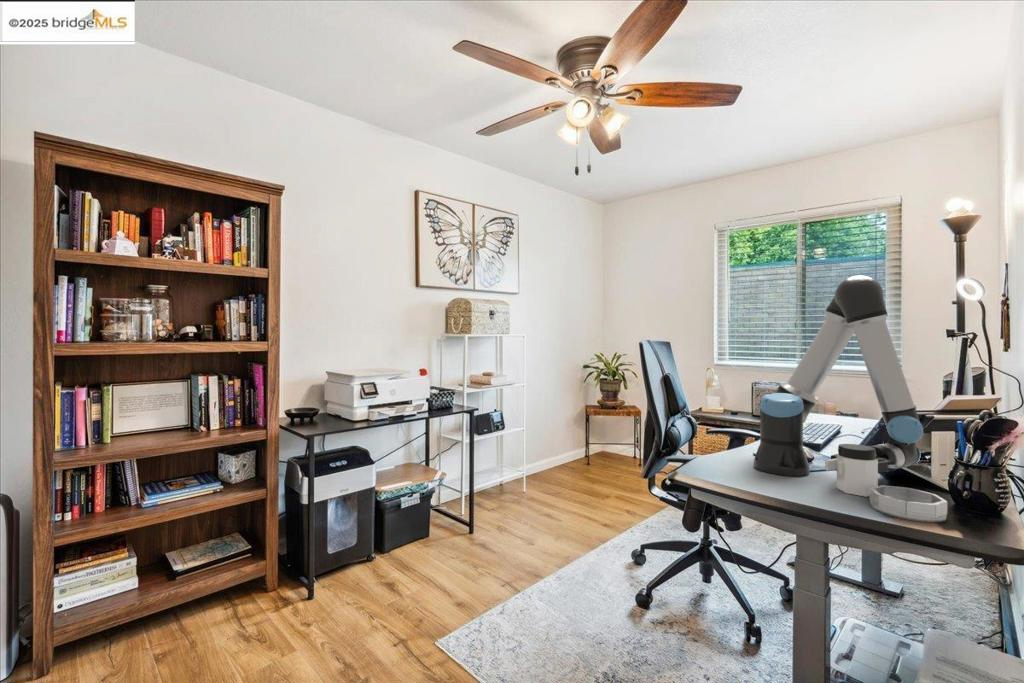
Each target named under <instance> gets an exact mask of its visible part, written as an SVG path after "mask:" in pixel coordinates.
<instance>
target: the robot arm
mask: <svg viewBox="0 0 1024 683" xmlns="http://www.w3.org/2000/svg"><path fill="white" fill-rule="evenodd" d="M824 314H825V316H826V319H825V321H824V323H823V324H822V325H821V328H820V329H819V330H818V332H817V333H816V335H815V337H814V339H813V340H812V342H811V344H810V345H809V347H808V348H807V350H806V351H805V353H804V355H803V356H802V358H801V360H800V361H799V363H798V364H797V366H796V368H795V369H794V371H793V373H792V374H791V376H790V378H789V379H788V381H787V382H783V383H780V384H779V386H778V388H777V389H776V391H775V392H773V393H766V394H764V395H762V396H761V398H760V403H759V408H760V409H759V410H760V415H759V416H760V418H759V420H760V421H759V422H760V426H759V427H760V429H759V430H760V432H759V433H760V434H759V438H760V440H759V445H758V448H757V450H756V453H755V456H754V459H753V467H754V468H755V469H756V468H757V470H758V469H759V470H758V471H761V472H765V473H769V474H772V475H778V474H779V475H778V476H786V477H787V476H790V477H803V476H807V475H809V474H810V463H809V462H808V458H807V455H806V453H805V450H804V449H805V448H804V423H805V422H806V420H807V418H808V416H809V415H810V413H811V411H812V410H813V408H814V406H815V405H816V404H817V402H818V401H817V398H816V397H815V395H816V394H817V392H818V391H819V389H820V387H821V385H822V384H823V383H824V382H825V380H826V378H827V376H828V375H829V373H830V372H831V370H832V369H833V366H834V365H835V364H836V362H837V360H838V359H839V358H840V356H841V355H842V353H843V351H844V350H845V348H846V347H847V345H848V343H850V342H849V341H851V339H852V337H853V335H855V338H856V340H857V344H858V346H859V349H860V353H861V355H862V358H863V361H864V364H865V368H866V369H867V374H868V375H869V379H870V382H871V384H872V388H873V391H874V394H875V397H876V400H877V403H878V406H879V409H880V411H881V412H880V413H881V415H882V418H883V423H884V422H885V425H886V429H887V432H888V434H889V436H890V437H891V439H890V440H889V441H888V442H887V443H885V444H884V443H881V444H874V445H868V446H869V447H872V448H875V449H876V459H877V460H878V474H879V473H885V472H887V473H888V472H895V471H896V470H898V469H903V468H905V467H906V468H909V467H908V466H911V465H913V466H915V465H917V464H919V463H920V462H921V461H920V458H921V451H920V450H919V449H918V448H917V447H916V444H917V442H918V441H920V440H921V438H922V437H923V435H924V426H923V424H922V422H920V418H919V415H918V412H916V411H917V406H916V405H915V404H914V400H913V397H912V394H911V393H910V390H909V386H908V383H907V381H906V378H905V374H904V372H903V369H902V366H901V363H900V360H899V357H898V355H897V352H896V349H895V344H894V343H893V339H892V337H891V333H890V330H889V328H888V325H887V322H886V319H887V317H888V316H889V315H888V311H887V308H886V305H885V299H884V290H883V287H882V286H881V284H880V282H878V281H877V280H876V279H874V278H872V277H870V276H866V275H854V276H849V277H848V278H845V279H844V280H843V281H841V282H840V283H839V285H838V286H837V287H836V290H835V292H834V296H833V298H832V299H831V300H830V303H829V304H828V306H827V307H826V309H825V310H824ZM902 443H907V444H909V445H907V446H906V447H905V448H904V449H902V447H901V444H902ZM837 454H838V453H835V454H831V455H830V459H826V460H825V461H824V462H825V463H824V464H825V465H824V466H825V467H824V470H825V471H827V472H829V471H834V470H837ZM919 461H920V462H919ZM918 462H919V463H918ZM916 463H917V464H916ZM911 467H912V466H911ZM839 474H844V463H839Z"/></svg>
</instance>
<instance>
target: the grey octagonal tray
mask: <svg viewBox="0 0 1024 683" xmlns="http://www.w3.org/2000/svg"><path fill="white" fill-rule="evenodd" d="M869 501H870V503H869V505H870V507H871V508H872V509H873V510H875V511H877V512H879V513H881V514H885V515H887V516H890V517H893V518H896V519H897V518H898V519H900V520H901V519H902V520H906V521H907V520H908V521H913V522H919V523H929V522H937V523H943V522H946V520H947V515H948V501H947V500H946V499H944V498H943V497H941V496H940V495H937V494H936V493H933V492H932V493H931V492H928V491H925V490H924V491H923V490H920V489H916V488H911V487H906V486H905V487H904V486H894V485H885V484H884V485H878V486H876V487H872V488H870V496H869ZM942 521H943V522H942Z"/></svg>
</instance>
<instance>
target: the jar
mask: <svg viewBox="0 0 1024 683" xmlns="http://www.w3.org/2000/svg"><path fill="white" fill-rule="evenodd" d="M869 446H870V445H863V444H856V443H840V444H838V445H837V452H838V453H836V454H837V469H836V489H837V490H840V491H841V492H843V493H844V494H848V495H853V496H860V497H870V488H872V487H876V486H879V484H878V483H879V473H878V460H877V459H876V449H875V448H872V447H869ZM839 463H844V474H839Z"/></svg>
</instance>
